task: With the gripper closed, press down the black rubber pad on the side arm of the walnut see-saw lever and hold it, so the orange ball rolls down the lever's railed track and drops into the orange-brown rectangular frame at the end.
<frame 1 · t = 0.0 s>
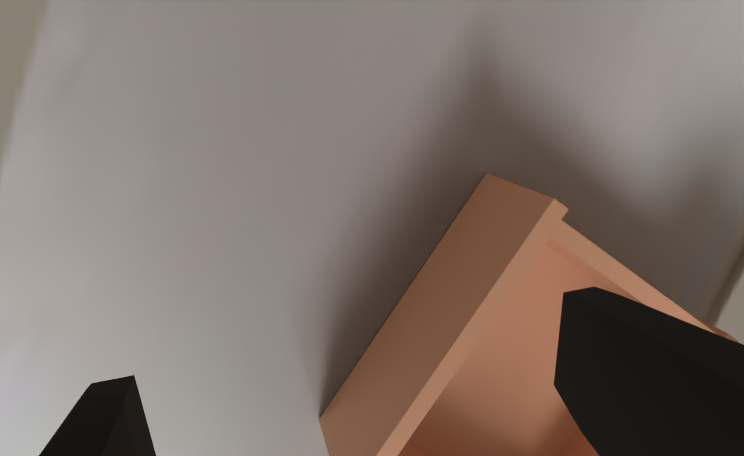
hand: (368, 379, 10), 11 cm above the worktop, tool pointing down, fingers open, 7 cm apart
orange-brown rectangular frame: (503, 359, 23), on the worktop
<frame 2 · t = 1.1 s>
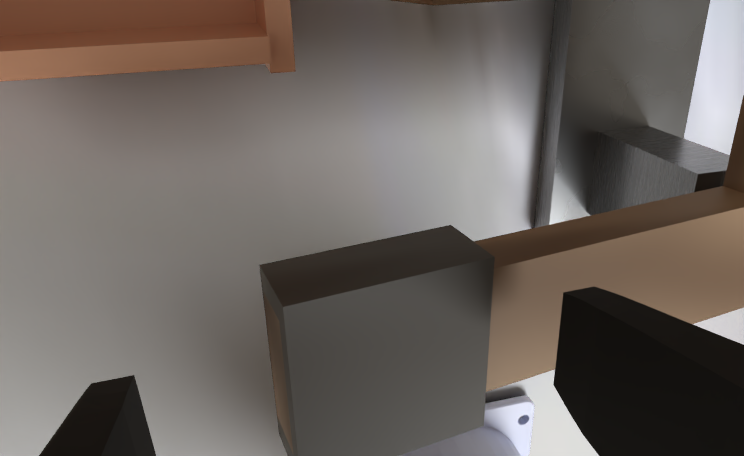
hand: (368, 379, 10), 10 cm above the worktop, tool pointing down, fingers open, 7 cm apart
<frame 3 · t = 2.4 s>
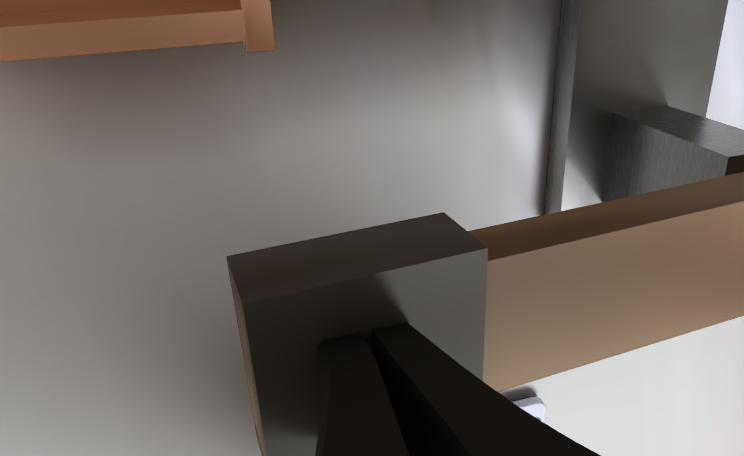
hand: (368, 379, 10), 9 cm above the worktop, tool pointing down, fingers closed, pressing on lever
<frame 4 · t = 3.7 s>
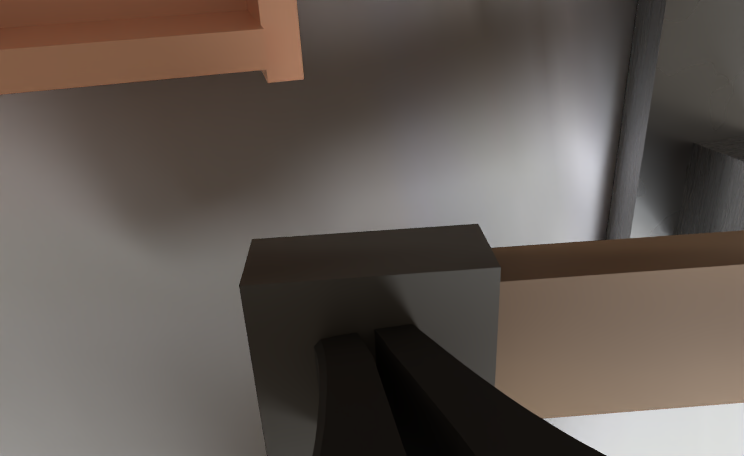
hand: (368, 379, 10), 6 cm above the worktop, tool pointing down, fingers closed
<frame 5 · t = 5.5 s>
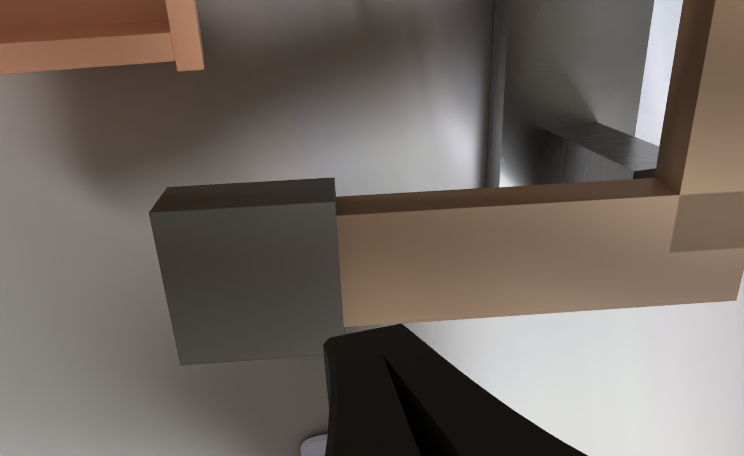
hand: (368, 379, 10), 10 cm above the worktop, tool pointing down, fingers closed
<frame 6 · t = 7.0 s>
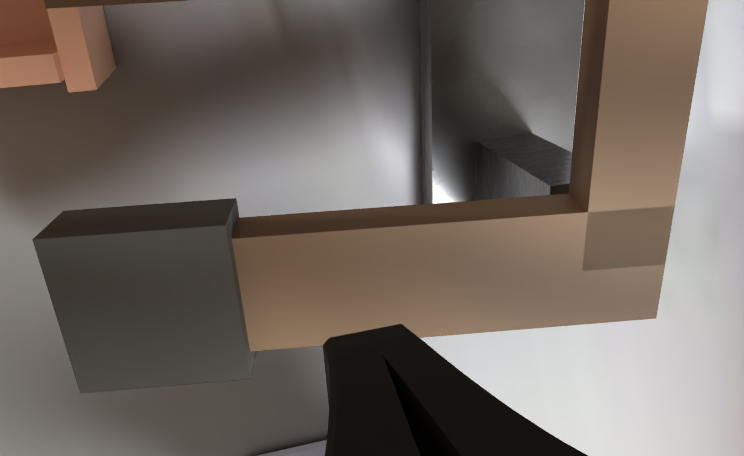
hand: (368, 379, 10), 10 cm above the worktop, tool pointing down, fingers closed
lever: (607, 7, 13), point 6 cm above the worktop, hinge at -11.0°
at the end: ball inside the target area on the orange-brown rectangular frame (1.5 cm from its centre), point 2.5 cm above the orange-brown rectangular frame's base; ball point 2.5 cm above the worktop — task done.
